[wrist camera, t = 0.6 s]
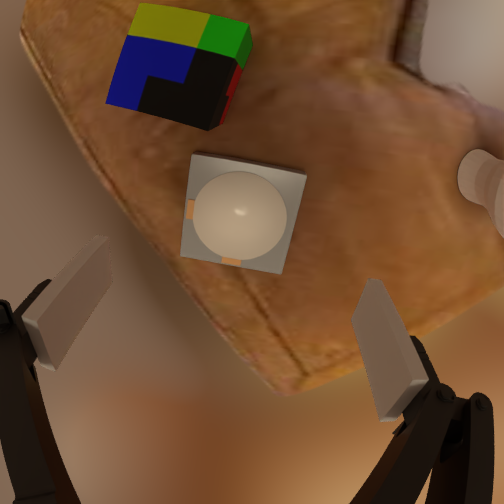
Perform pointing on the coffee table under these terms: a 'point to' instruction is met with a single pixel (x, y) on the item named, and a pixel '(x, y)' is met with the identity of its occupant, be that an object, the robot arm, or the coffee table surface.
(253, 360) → the coffee table surface
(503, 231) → the cup
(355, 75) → the coffee table surface
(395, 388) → the robot arm
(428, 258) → the coffee table surface
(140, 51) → the puzzle toy
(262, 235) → the plinth
